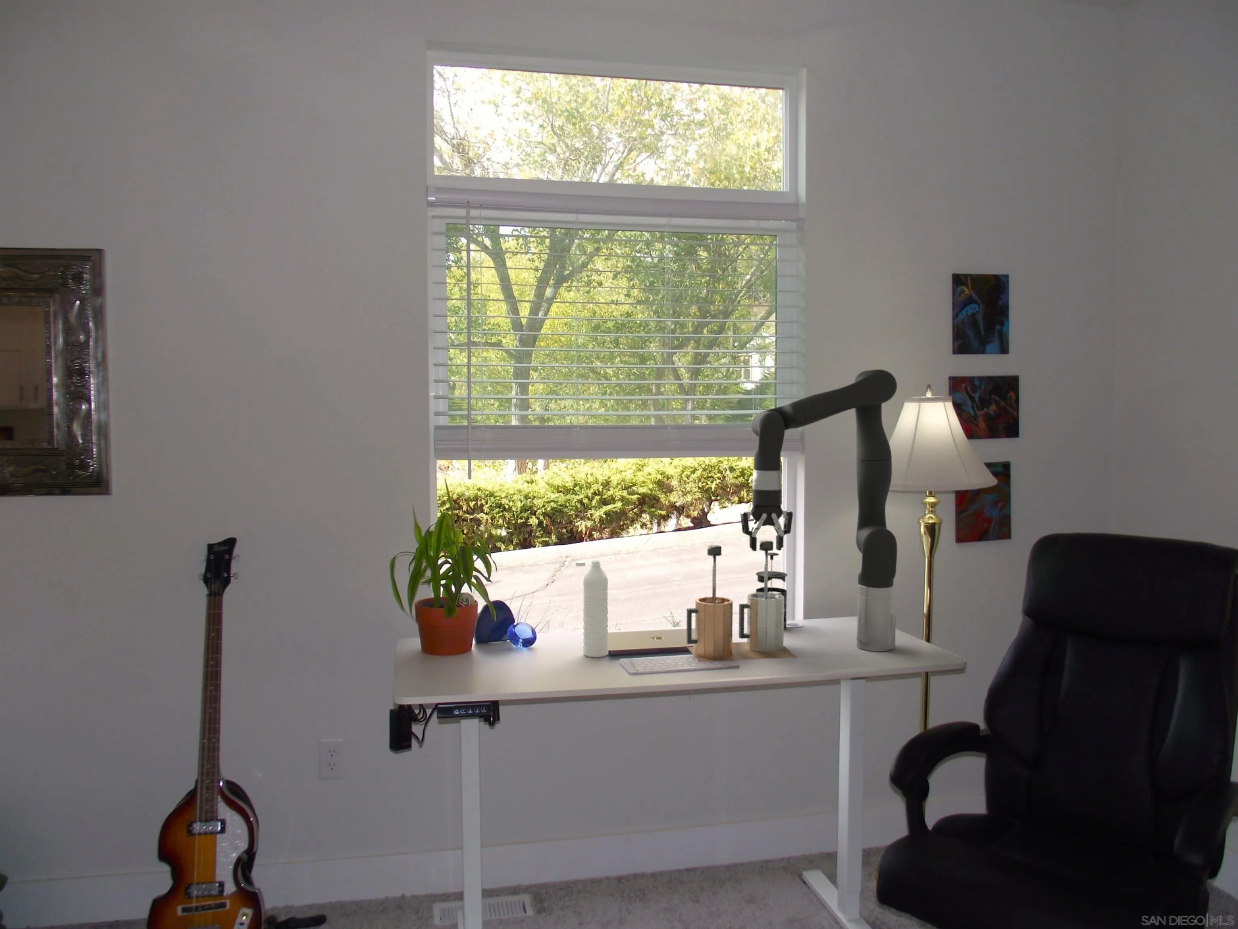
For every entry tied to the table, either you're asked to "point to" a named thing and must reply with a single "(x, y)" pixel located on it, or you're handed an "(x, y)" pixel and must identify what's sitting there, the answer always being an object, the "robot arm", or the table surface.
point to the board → (745, 653)
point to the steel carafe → (763, 622)
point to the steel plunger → (766, 565)
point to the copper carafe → (711, 627)
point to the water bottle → (595, 611)
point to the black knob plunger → (714, 568)
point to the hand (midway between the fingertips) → (766, 550)
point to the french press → (771, 589)
